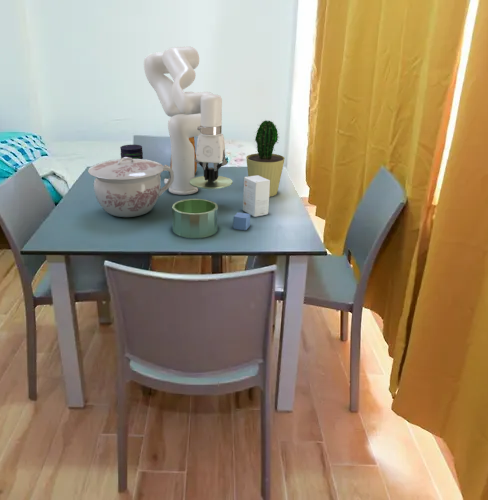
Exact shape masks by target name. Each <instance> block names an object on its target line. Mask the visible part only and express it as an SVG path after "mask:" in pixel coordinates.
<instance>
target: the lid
mask: <svg viewBox="0 0 488 500" xmlns="http://www.w3.org/2000/svg"><path fill="white" fill-rule="evenodd" d="M213 170H214V167H208V180H205V177H204V175H202V176H195V178H193V179H191V180H190V185H192V186H194V187H197V188H198V189H204V190H219V189H224V188H227V187H228V188H229V187H230V186H232V184H233V180H232V179H231V178H229V177H226V176H222V175H218V178H217V180H216V181H212V171H213Z"/></svg>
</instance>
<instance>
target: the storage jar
mask: <svg viewBox="0 0 488 500" xmlns="http://www.w3.org/2000/svg"><path fill="white" fill-rule="evenodd" d="M124 157H129V158H134V159H144V151H143V146H142V144H141V145H140V144H124V145H122V146H120V159H121V158H124Z"/></svg>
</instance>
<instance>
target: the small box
mask: <svg viewBox="0 0 488 500" xmlns="http://www.w3.org/2000/svg"><path fill="white" fill-rule="evenodd" d="M269 191H270V180H268V179H266V178H263V177H261V176H259V175H256V176H249V177H248V176H244V177H243V196H242V197H243V198H242V211H243V212H244V213H247V214H250V216H252V217H253V218H255V217H261V216H265V215H269V209H270V208H269V207H270V206H269V205H270V197H269Z"/></svg>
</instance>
